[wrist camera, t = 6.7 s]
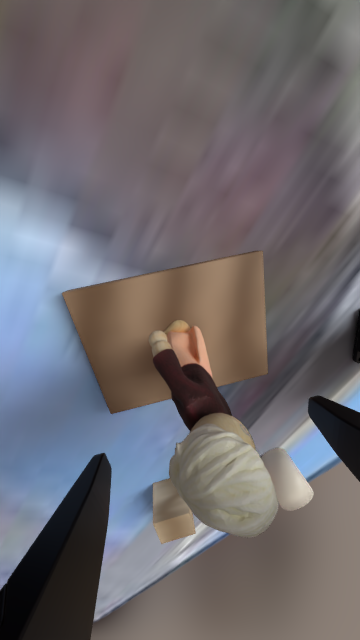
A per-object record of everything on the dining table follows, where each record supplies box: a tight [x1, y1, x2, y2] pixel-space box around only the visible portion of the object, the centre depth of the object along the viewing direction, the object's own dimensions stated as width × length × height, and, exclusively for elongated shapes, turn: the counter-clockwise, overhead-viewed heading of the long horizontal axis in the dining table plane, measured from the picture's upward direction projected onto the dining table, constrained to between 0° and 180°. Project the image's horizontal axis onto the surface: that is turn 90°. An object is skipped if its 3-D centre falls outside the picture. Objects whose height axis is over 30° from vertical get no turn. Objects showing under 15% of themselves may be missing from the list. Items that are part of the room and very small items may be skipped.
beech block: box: [153, 478, 196, 544], centre depth 23 cm, size 4×4×4 cm
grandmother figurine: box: [149, 320, 278, 538], centre depth 11 cm, size 8×4×13 cm, turn 44°
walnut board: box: [62, 251, 268, 414], centre depth 18 cm, size 16×12×1 cm
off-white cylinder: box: [261, 448, 313, 510], centre depth 24 cm, size 4×4×4 cm
